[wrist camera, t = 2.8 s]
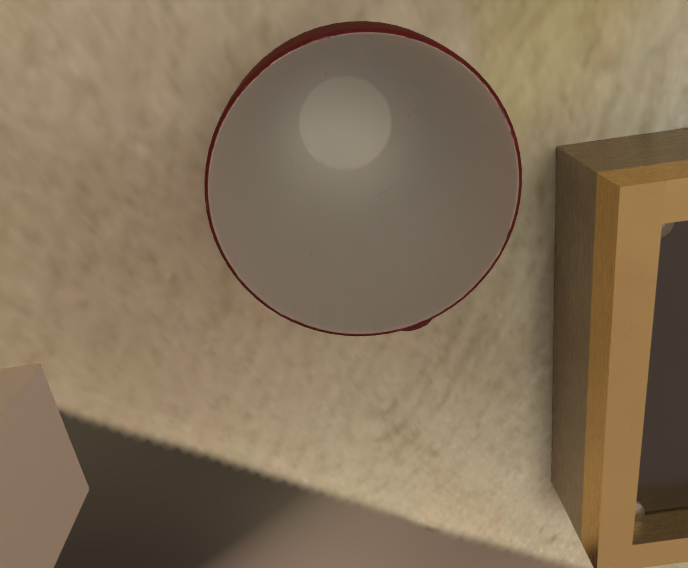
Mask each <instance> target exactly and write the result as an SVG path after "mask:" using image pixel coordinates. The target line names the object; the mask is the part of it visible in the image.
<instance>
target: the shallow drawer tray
mask: <svg viewBox="0 0 688 568" xmlns="http://www.w3.org/2000/svg"><path fill="white" fill-rule="evenodd" d="M552 484H553V486H554V488H555V490H556V492H557V494H558V496H559V498H560V500H561V502H562V504H563V506H564V508H565V510H566V512H567V514H568V516H569V518H570V520H571V522H572V524H573V527H574V529H575V531H576V533H577V535H578V537H579V539H580V541H581V543H582V545H583V547H584V549H585V551H586V553H587V555H588V557H589V559H590V561H591V563H592V565H593V567H594V568H643V567H651V566H658V565H666V564H673V563H681V562H688V128H684V129H677V130H670V131H663V132H656V133H649V134H642V135H635V136H628V137H621V138H614V139H607V140H600V141H593V142H586V143H578V144H571V145H564V146H557V155H556V221H555V287H554V353H553V419H552Z"/></svg>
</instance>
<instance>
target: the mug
mask: <svg viewBox="0 0 688 568" xmlns="http://www.w3.org/2000/svg"><path fill="white" fill-rule="evenodd" d="M521 187H522V168H521V159H520V152H519V147H518V142H517V138H516V135H515V132H514V129H513V126H512V123H511V121H510V119H509V117H508V114H507V112H506V110H505V108H504V107H503V105H502V103H501V101H500V100H499V98H498V96H497V95H496V94H495V92H494V91H493V89H492V88H491V87H490V85H489V84H488V83H487V82H486V80H485V79H484V78H483V77H482V76H481V75H480V74H479V73H478V72H477V71H476V70H475V69H474V68H473V67H472V66H471V65H470V64H468V63H467V62H466V61H465V60H464V59H462V58H461V57H459V56H458V55H457V54H455V53H454V52H452V51H451V50H449V49H448V48H446V47H445V46H443V45H441V44H439V43H437V42H436V41H434V40H432V39H430V38H428V37H426V36H424V35H421V34H419V33H416V32H414V31H412V30H409V29H406V28H403V27H399V26H396V25H391V24H386V23H380V22H368V21H356V22H343V23H336V24H331V25H327V26H323V27H319V28H316V29H313V30H310V31H307V32H305V33H302V34H300V35H298V36H296V37H294V38H292V39H290V40H288V41H287V42H285V43H283V44H282V45H280V46H279V47H277V48H276V49H274V50H273V51H272V52H270V53H269V54H268V55H267V56H265V57H264V58H263V59H262V60H261V61H260V62H259V63H258V64H257V65H256V66H255V67H254V68H253V69H252V70H251V71H250V72H249V73H248V75H247V76H246V77H245V78H244V79H243V81H242V82H241V84H240V85H239V87H238V88H237V90H236V91H235V92H234V94H233V95H232V97H231V99H230V100H229V102H228V104H227V106H226V108H225V110H224V112H223V113H222V115H221V117H220V120H219V122H218V124H217V127H216V129H215V132H214V134H213V137H212V141H211V144H210V147H209V152H208V157H207V162H206V171H205V201H206V209H207V215H208V219H209V224H210V228H211V231H212V234H213V237H214V240H215V242H216V244H217V246H218V249H219V251H220V253H221V255H222V257H223V258H224V260H225V262H226V264H227V265H228V267H229V268H230V270H231V271H232V273H233V274H234V275H235V277H236V278H237V279H238V280H239V282H240V283H241V284H242V285H243V286H244V287H245V288H246V289H247V290H248V291H249V292H250V293H251V294H252V295H253V296H254V297H255V298H256V299H257V300H259V301H260V302H261V303H262V304H264V305H265V306H266V307H268V308H269V309H271V310H272V311H274V312H275V313H277V314H278V315H280V316H282V317H284V318H286V319H288V320H290V321H292V322H294V323H297V324H299V325H302V326H304V327H307V328H310V329H313V330H317V331H321V332H325V333H330V334H337V335H345V336H372V335H381V334H388V333H392V332H397V331H412V330H416V329H419V328H421V327H423V326H425V325H427V324H428V323H429V322H430V321H431V320H432V319H433V318H435V317H437V316H438V315H440V314H442V313H444V312H445V311H447V310H448V309H450V308H452V307H453V306H454V305H456V304H457V303H458V302H460V301H461V300H462V299H464V298H465V297H466V296H467V295H468V294H469V293H470V292H471V291H473V290H474V289H475V288H476V287H477V286H478V285H479V283H480V282H481V281H482V280H483V279H484V278H485V277H486V275H487V274H488V273H489V272H490V270H491V269H492V268H493V266H494V265H495V263H496V262H497V260H498V259H499V257H500V255H501V254H502V252H503V250H504V248H505V246H506V244H507V242H508V240H509V237H510V235H511V232H512V230H513V227H514V224H515V221H516V217H517V214H518V209H519V204H520V197H521Z"/></svg>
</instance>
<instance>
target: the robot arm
mask: <svg viewBox="0 0 688 568" xmlns="http://www.w3.org/2000/svg"><path fill="white" fill-rule="evenodd" d="M88 491H89V487H88V484H87V482H86V479H85V477H84V475H83V472H82V469H81V467H80V464H79V462H78V459H77V457H76V454H75V452H74V449H73V446H72V444H71V441H70V439H69V436H68V434H67V431H66V429H65V426H64V424H63V421H62V419H61V416H60V414H59V411H58V408H57V406H56V403H55V401H54V398H53V396H52V393H51V391H50V388H49V386H48V383H47V381H46V378H45V376H44V373H43V370H42V368H41V365H40V364H35V365H28V366H21V367H13V368H6V369H0V568H54V565H55V563H56V561H57V559H58V557H59V554H60V552H61V550H62V548H63V546H64V544H65V541H66V539H67V537H68V535H69V532H70V530H71V528H72V526H73V524H74V522H75V519H76V517H77V515H78V513H79V511H80V508H81V506H82V504H83V502H84V500H85V497H86V495H87V493H88Z"/></svg>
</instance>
